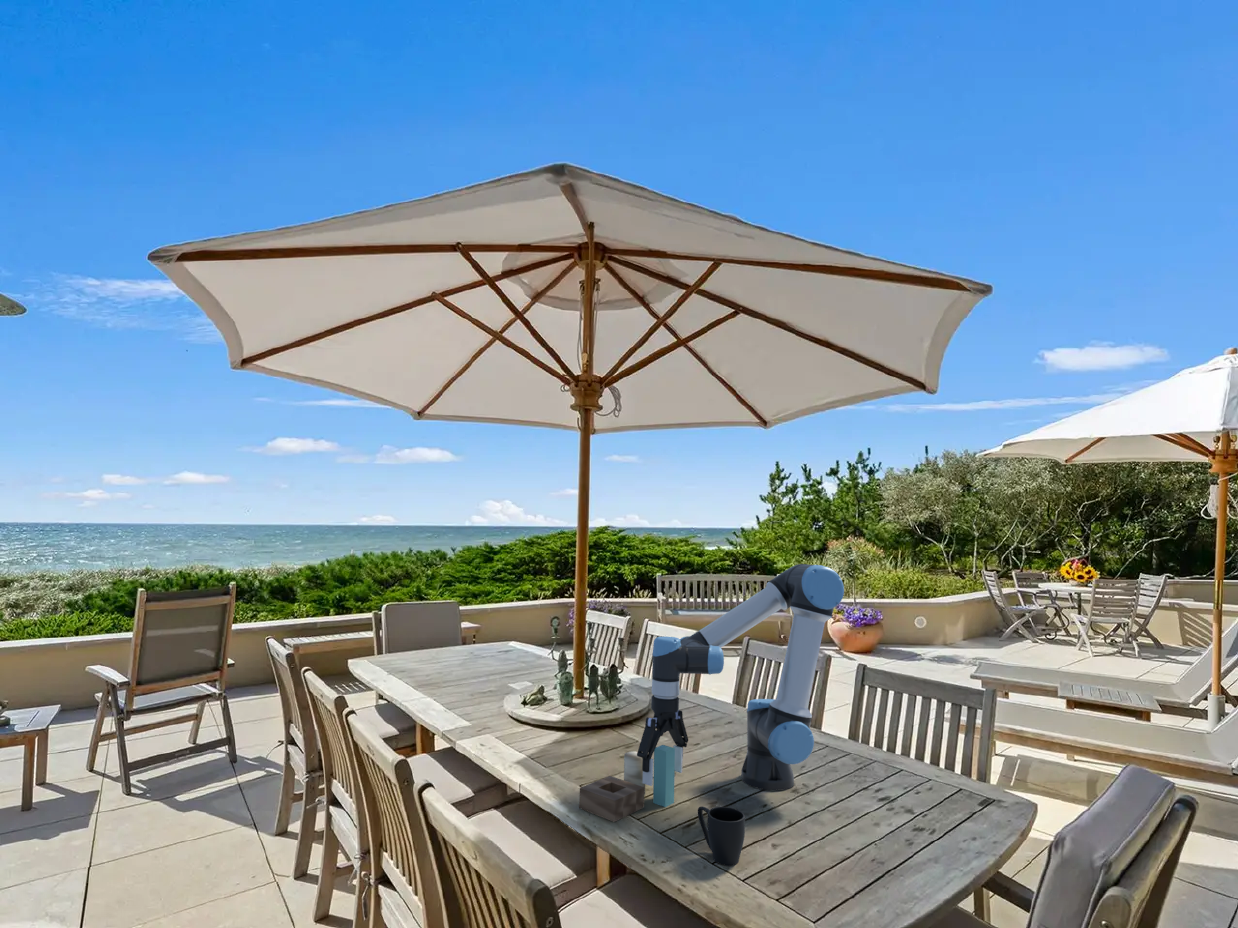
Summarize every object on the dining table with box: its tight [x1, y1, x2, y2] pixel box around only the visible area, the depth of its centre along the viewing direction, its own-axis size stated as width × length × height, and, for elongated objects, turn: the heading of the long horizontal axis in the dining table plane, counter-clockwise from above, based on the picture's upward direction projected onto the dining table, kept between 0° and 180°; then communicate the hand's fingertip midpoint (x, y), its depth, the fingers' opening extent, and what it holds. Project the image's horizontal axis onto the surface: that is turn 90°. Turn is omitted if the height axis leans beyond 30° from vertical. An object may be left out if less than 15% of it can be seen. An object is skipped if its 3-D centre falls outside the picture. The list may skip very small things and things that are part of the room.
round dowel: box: [623, 750, 646, 796], centre depth 177 cm, size 6×6×10 cm
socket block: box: [578, 775, 645, 823], centre depth 167 cm, size 12×12×5 cm
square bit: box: [652, 744, 676, 808], centre depth 171 cm, size 4×4×14 cm
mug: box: [697, 806, 746, 867], centre depth 142 cm, size 8×12×10 cm
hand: (662, 777), depth 171 cm, fingers open, 13 cm apart
